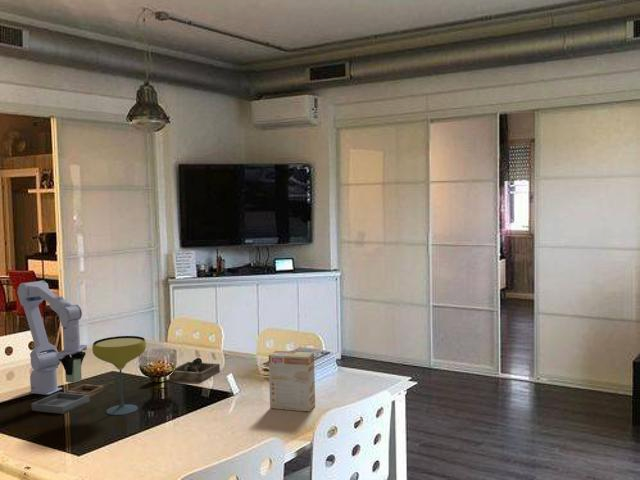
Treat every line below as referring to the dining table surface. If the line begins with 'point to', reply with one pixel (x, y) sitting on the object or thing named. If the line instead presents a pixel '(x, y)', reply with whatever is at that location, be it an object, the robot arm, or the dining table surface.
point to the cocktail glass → (119, 361)
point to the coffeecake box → (292, 380)
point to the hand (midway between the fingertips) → (73, 373)
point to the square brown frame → (87, 386)
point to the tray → (60, 402)
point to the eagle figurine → (194, 365)
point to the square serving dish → (206, 373)
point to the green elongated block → (75, 372)
